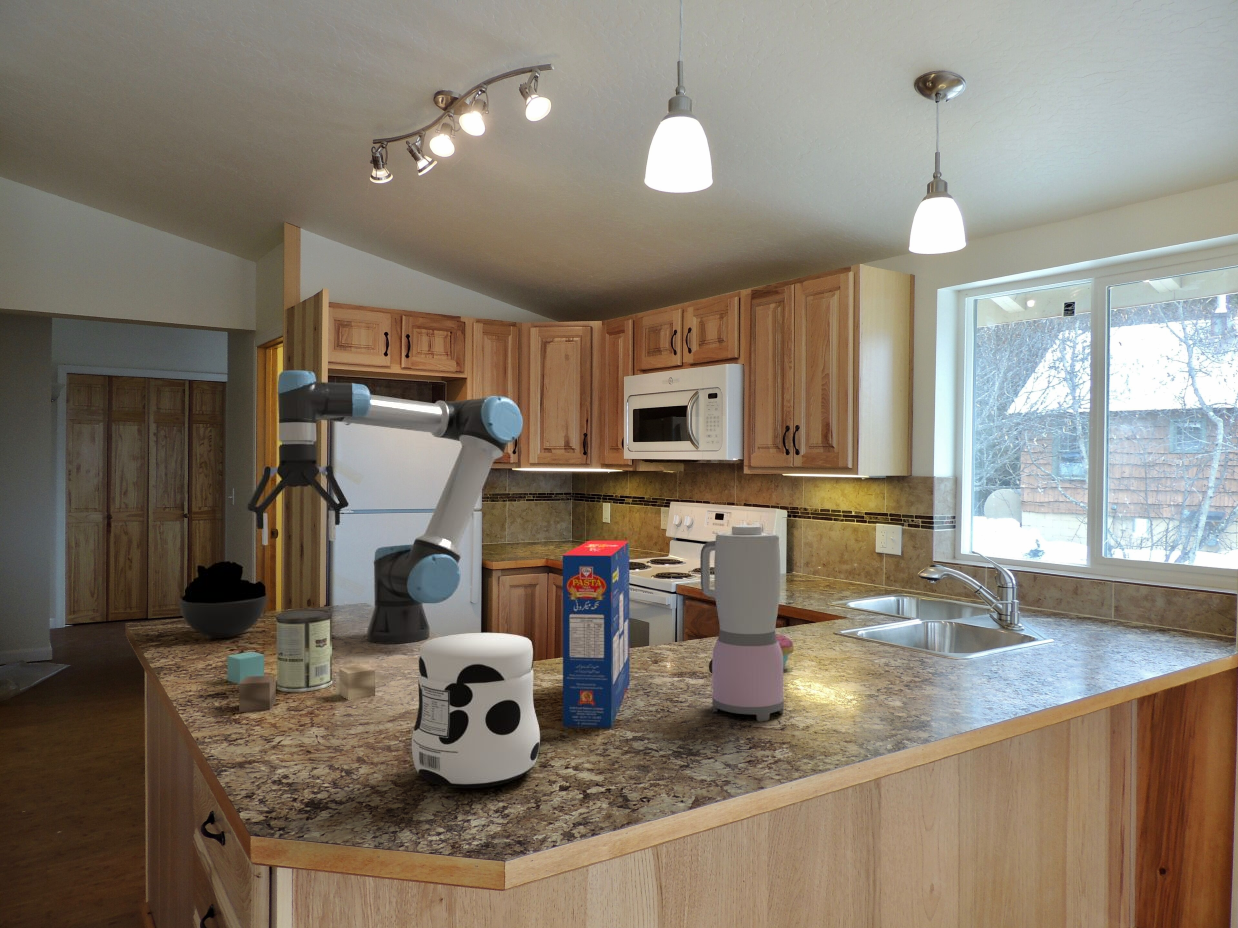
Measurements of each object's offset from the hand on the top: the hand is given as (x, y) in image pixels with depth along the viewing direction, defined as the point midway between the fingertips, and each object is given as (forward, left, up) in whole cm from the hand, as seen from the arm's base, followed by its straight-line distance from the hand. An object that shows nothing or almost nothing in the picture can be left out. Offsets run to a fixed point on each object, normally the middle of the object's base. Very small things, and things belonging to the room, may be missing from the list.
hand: (299, 542), depth 177 cm
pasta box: (-45, +54, -27) cm, 76 cm away
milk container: (-15, +78, -27) cm, 84 cm away
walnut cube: (+10, +29, -27) cm, 41 cm away
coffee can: (+1, +17, -27) cm, 32 cm away
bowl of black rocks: (+14, -42, -27) cm, 51 cm away
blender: (-65, +69, -27) cm, 99 cm away
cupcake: (-89, +47, -27) cm, 105 cm away
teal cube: (+11, +7, -27) cm, 29 cm away
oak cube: (-7, +29, -27) cm, 40 cm away
